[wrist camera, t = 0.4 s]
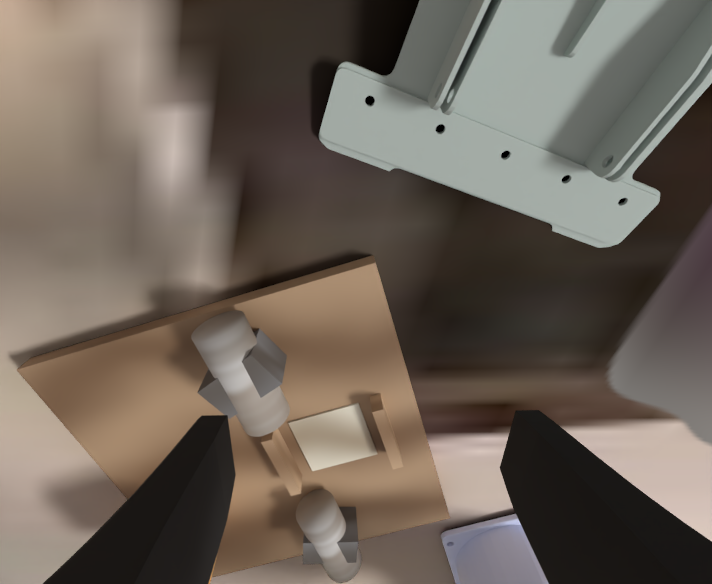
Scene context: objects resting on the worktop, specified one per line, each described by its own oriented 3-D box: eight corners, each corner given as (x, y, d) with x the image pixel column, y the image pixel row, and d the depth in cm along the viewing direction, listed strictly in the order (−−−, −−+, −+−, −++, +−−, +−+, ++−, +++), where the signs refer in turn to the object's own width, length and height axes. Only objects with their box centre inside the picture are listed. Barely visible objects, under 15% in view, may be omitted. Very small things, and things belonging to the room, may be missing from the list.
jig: (445, 504, 26) (461, 556, 23) (202, 565, 27) (186, 622, 24) (373, 255, 18) (382, 284, 15) (31, 357, 19) (-26, 404, 16)
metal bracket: (527, -605, 6) (1066, -143, 9) (462, -368, 11) (839, -108, 13) (304, 183, 15) (611, 287, 18) (319, 133, 20) (564, 224, 22)
